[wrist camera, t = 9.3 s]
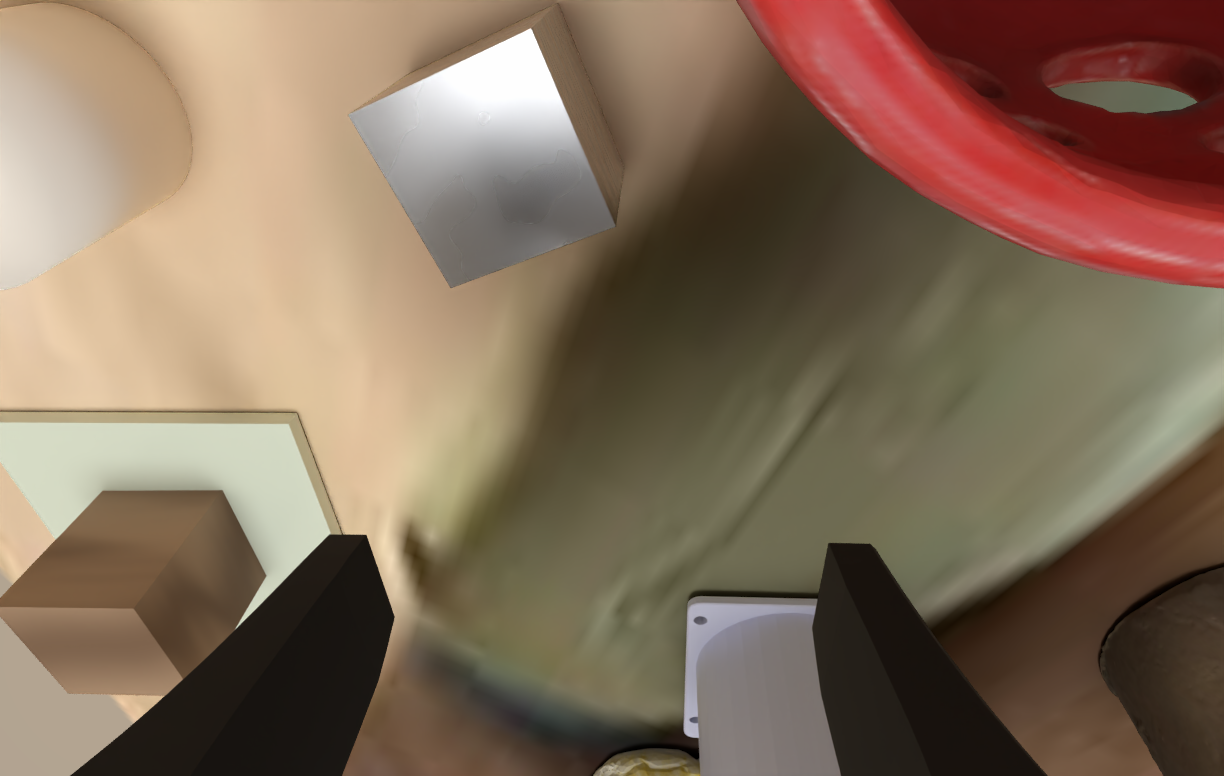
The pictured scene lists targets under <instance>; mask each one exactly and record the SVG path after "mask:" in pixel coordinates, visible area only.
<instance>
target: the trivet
mask: <svg viewBox="0 0 1224 776" xmlns="http://www.w3.org/2000/svg"><path fill="white" fill-rule="evenodd" d="M0 462H1V464H2V465H3V467H4V468H5V469H6V471H7V472H8V474H9V475H10V477H11V478H12V479H13V481H14V482H15V484H16V485H17V486H18V488H19V489H20V491H21V492H22V493H23V495H24V496H25V498H26V499H27V500H28V502H29V503H30V505H31V506H32V507H33V509H34V510H35V512H36V513H37V514H38V516H39V517H40V519H41V520H42V521H43V523H44V524H45V526H46V527H47V528H48V530H49V531H50V533H51V534H52V535H53V537H54V538H55V540H56V539H57V538H58V537H59V536H60V535H61V534H62V533H63V532H64V531H65V530H66V529H67V528H68V526H69V525H70V524H71V523H72V522H73V521H74V520H75V519H76V518H77V517H78V516H79V515H80V514H81V513H82V512H83V511H84V510H85V509H86V508H87V507H88V506H89V504H90V503H91V502H92V501H93V500H94V499H95V498H96V497H97V496H98V495H99V494H100V493H101V492H102V491H144V490H223V492H224V494H225V496H226V498H227V500H228V502H229V504H230V506H231V508H232V510H233V512H234V514H235V515H236V517H237V519H238V521H239V523H240V525H241V527H242V529H243V531H244V533H245V535H246V537H247V539H248V541H249V543H250V545H251V547H252V548H253V550H254V552H255V554H256V556H257V558H258V560H259V562H260V564H261V566H262V568H263V570H264V572H265V574H266V578H265V580H264V581H263V583H262V585H261V586H260V588H259V590H258V591H257V593H256V595H255V596H254V598H253V600H252V602H251V603H250V605H249V607H248V608H247V610H246V612H245V613H244V615H243V617H242V619H241V620H240V622H239V624H238V625H237V627H238V626H239V625H240V624H241V623H242V622H243V621H244V620H245V619H246V618H247V617H248V616H249V615H250V614H251V613H252V612H253V611H254V610H255V609H256V608H257V607H258V606H259V605H260V604H261V603H262V602H263V601H264V600H265V599H266V598H267V597H268V596H269V595H270V594H271V593H272V592H273V591H274V590H275V589H276V588H277V587H278V586H279V585H280V584H281V583H282V582H283V581H284V580H285V579H286V578H287V577H288V576H289V575H290V574H291V573H292V571H293V570H294V569H295V568H296V567H297V566H298V565H299V564H300V563H301V562H302V561H303V560H304V559H305V558H306V557H307V556H308V555H309V554H310V553H311V552H312V551H313V550H314V549H315V548H316V547H317V546H318V545H319V544H320V543H321V542H322V541H323V540H324V539H325V538H326V537H327V536H328V535H329V534H341V535H342V533H341V530H340V528H339V525H338V522H337V520H336V517H335V514H334V512H333V509H332V506H331V504H330V501H329V498H328V496H327V493H326V490H325V488H324V485H323V482H322V480H321V477H320V474H319V471H318V469H317V466H316V463H315V461H314V458H313V455H312V453H311V450H310V447H309V445H308V442H307V439H306V437H305V434H304V431H303V429H302V426H301V423H300V421H299V418H298V415H297V413H205V412H0ZM237 627H236V628H237Z"/></svg>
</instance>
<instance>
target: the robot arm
mask: <svg viewBox="0 0 1224 776" xmlns="http://www.w3.org/2000/svg"><path fill="white" fill-rule="evenodd" d="M394 618H395V617H394V614H393V611H392V608H391V605H390V602H389V599H388V596H387V593H386V590H385V588H384V585H383V582H382V579H381V576H380V573H379V570H378V567H377V564H376V562H375V559H374V556H373V553H372V550H371V547H370V544H369V541H368V538H367V535H341V534H329V535H328V536H327V537H326V538H325V539H324V540H323V541H322V542H321V543H320V544H319V545H318V546H317V547H316V548H315V549H314V550H313V551H312V552H311V553H310V554H309V555H308V556H307V557H306V558H305V559H304V560H303V561H302V562H301V563H300V564H299V565H298V566H297V567H296V568H295V569H294V570H293V571H292V573H291V574H290V575H289V576H288V577H287V578H286V579H285V580H284V581H283V582H282V583H281V584H280V585H279V586H278V587H277V588H276V589H275V590H274V591H273V592H272V593H271V594H270V595H269V596H268V597H267V598H266V599H265V600H264V601H263V602H262V603H261V604H260V605H259V606H258V607H257V608H256V609H255V610H254V611H253V612H252V613H251V614H250V615H249V616H248V617H247V618H246V619H245V620H244V621H243V622H242V623H241V624H240V625H239V626H238V627H237V628H236V629H235V630H234V631H233V632H232V633H231V634H230V635H229V636H228V637H227V638H226V639H225V640H224V641H223V642H222V643H221V644H220V645H219V646H218V647H217V648H216V649H215V650H214V651H213V652H212V653H211V654H210V655H209V656H208V657H207V658H205V659H204V660H203V661H202V662H201V663H200V664H199V665H198V666H197V667H196V668H195V669H194V670H193V671H191V672H190V673H189V674H188V675H187V676H186V677H185V678H184V679H183V680H182V681H181V682H179V683H178V684H177V685H176V686H175V687H174V688H173V689H172V690H171V691H170V692H169V693H168V694H166V695H165V696H164V697H163V698H162V699H161V700H160V701H159V702H158V703H157V704H156V705H154V706H153V707H152V708H151V709H150V710H149V711H148V712H147V713H145V714H144V715H143V716H142V717H141V718H140V719H138V720H137V721H136V722H135V723H134V724H133V725H132V726H130V727H129V728H128V729H127V730H126V731H125V732H123V733H122V734H121V735H120V736H119V737H118V738H116V739H115V740H114V741H113V742H111V743H110V744H109V745H108V746H106V747H105V748H104V749H103V750H101V751H100V752H99V753H98V754H97V755H95V756H94V757H93V758H92V759H90V760H89V761H88V762H87V763H86V764H84V765H83V766H82V767H80V768H79V769H78V770H77V771H76V772H74V773H73V774H72V775H71V776H342V774H343V771H344V769H345V766H346V764H347V761H348V758H349V756H350V753H351V751H352V748H353V746H354V743H355V741H356V738H357V735H358V733H359V730H360V728H361V725H362V723H363V720H364V717H365V715H366V712H367V709H368V707H369V704H370V702H371V699H372V696H373V694H374V691H375V688H376V686H377V683H378V680H379V677H380V673H381V669H382V666H383V662H384V658H385V654H386V651H387V647H388V642H389V638H390V634H391V630H392V626H393V622H394ZM684 733H685V734H686V735H687V736H689V737H694V738H699V756H700V776H1047V774H1046V773H1045V772H1044V771H1043V770H1042V769H1041V768H1040V767H1039V766H1038V764H1037V763H1036V762H1035V761H1034V760H1033V759H1032V757H1031V756H1030V755H1029V754H1028V753H1027V752H1026V751H1025V749H1024V748H1023V747H1022V746H1021V745H1020V744H1019V742H1018V741H1017V740H1016V739H1015V738H1014V736H1013V735H1012V734H1011V733H1010V732H1009V730H1008V729H1007V728H1006V727H1005V726H1004V724H1003V723H1002V722H1001V721H1000V720H999V718H998V717H997V716H996V715H995V714H994V712H993V711H992V710H991V709H990V708H989V706H988V705H987V704H986V702H985V701H984V700H983V699H982V697H981V696H980V695H979V694H978V692H977V691H976V690H975V689H974V687H973V686H972V685H971V684H970V682H969V681H968V680H967V678H966V677H965V676H964V674H963V673H962V672H961V670H960V669H959V668H958V666H957V665H956V664H955V663H954V661H953V660H952V659H951V657H950V656H949V655H948V653H947V652H946V651H945V649H944V648H943V647H942V645H941V644H940V643H939V641H938V640H937V639H936V637H935V636H934V634H933V633H932V632H931V630H930V629H929V628H928V626H927V625H926V623H925V622H924V620H923V619H922V618H921V616H920V615H919V613H918V612H917V610H916V609H915V608H914V606H913V605H912V603H911V602H910V600H909V599H908V598H907V596H906V595H905V593H904V592H903V590H902V589H901V587H900V586H899V584H898V583H897V581H896V580H895V578H894V577H893V575H892V574H891V572H890V571H889V569H888V568H887V566H886V564H885V563H884V561H883V560H882V558H881V557H880V555H879V554H878V552H877V550H876V549H875V548H874V547H873V546H872V545H871V544H853V543H828V549H827V554H826V559H825V564H824V569H823V574H822V579H821V584H820V589H819V595H818V599H802V598H759V597H717V596H697V597H694V598H692V599H690V600H689V601H688V604H687V634H686V665H685V696H684Z"/></svg>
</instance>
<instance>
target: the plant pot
mask: <svg viewBox="0 0 1224 776" xmlns="http://www.w3.org/2000/svg"><path fill="white" fill-rule="evenodd" d="M736 1H737V3H738V4H739V6H740V7H741V9H742V11H743V12H744V14H745V15H746V17H747V19H748V20H749V22H750V23H751V25H752V27H753V28H754V30H755V31H756V33H757V35H758V36H759V38H760V39H761V41H762V43H763V44H764V45H765V46H766V48H767V49H768V50H769V52H770V53H771V54H772V56H773V57H774V58H775V60H776V61H777V62H778V63H779V65H780V66H781V67H782V69H783V70H784V71H785V73H786V74H787V75H788V76H789V77H790V79H791V80H792V81H793V82H794V83H795V84H796V86H797V87H798V88H799V89H800V90H801V91H802V92H803V94H804V95H805V96H806V97H807V98H808V99H809V101H810V102H811V103H812V104H813V105H814V106H815V107H816V108H817V109H818V110H819V111H820V112H821V113H822V114H823V115H824V116H825V117H826V118H827V119H828V120H829V121H830V122H831V123H832V124H833V125H834V126H835V127H836V128H837V129H838V130H839V131H840V132H841V133H842V134H843V135H844V136H846V137H847V138H848V139H849V140H850V141H851V142H852V143H853V144H854V145H855V146H856V147H858V148H859V149H860V150H861V151H862V152H863V153H864V154H865V155H866V156H867V157H868V158H869V159H871V160H872V161H873V162H874V163H876V164H877V165H879V166H880V167H881V168H883V169H884V170H886V171H887V172H889V173H890V174H892V175H893V176H894V177H896V178H897V179H899V180H900V181H902V182H903V183H904V184H906V185H907V186H909V187H910V188H912V189H913V190H914V191H916V192H917V193H919V194H920V195H922V196H924V197H926V198H927V199H929V200H931V201H933V202H934V203H936V204H938V205H940V206H942V207H943V208H945V209H947V210H949V211H951V212H952V213H954V214H956V215H958V216H960V217H961V218H963V219H965V220H967V221H969V222H971V223H973V224H975V225H977V226H979V227H981V228H983V229H985V230H987V231H989V232H991V233H993V234H995V235H997V236H999V237H1001V238H1003V239H1006V240H1008V241H1010V242H1013V243H1015V244H1017V245H1020V246H1022V247H1024V248H1027V249H1029V250H1031V251H1034V252H1036V253H1038V254H1041V255H1045V256H1048V257H1052V258H1055V259H1059V260H1062V261H1066V262H1069V263H1073V264H1076V265H1080V266H1083V267H1087V268H1090V269H1094V270H1097V271H1101V272H1107V273H1113V274H1118V275H1124V276H1130V277H1135V278H1141V279H1147V280H1152V281H1158V282H1164V283H1169V284H1178V285H1190V286H1202V287H1214V288H1224V0H736ZM1098 81H1131V82H1138V83H1144V84H1151V85H1156V86H1161V87H1166V88H1171V89H1173V90H1176V91H1179V92H1182V93H1185V94H1187V95H1189V96H1190V97H1192V98H1193V99H1195V100H1196V101H1197V102H1198V103H1196V104H1193V105H1191V106H1188V107H1186V108H1184V109H1181V110H1172V111H1160V112H1153V113H1147V114H1144V113H1138V112H1123V113H1114V112H1109V111H1107V110H1105V109H1103V108H1100V107H1096V106H1093V105H1089V104H1085V103H1081V102H1077V101H1074V100H1070V99H1066V98H1062V97H1060V96H1058V95H1056V94H1055V93H1054V92H1053V91H1051V90H1050V89H1049V88H1055V87H1059V86H1062V85H1065V84H1070V83H1085V82H1098Z"/></svg>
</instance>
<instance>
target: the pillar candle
mask: <svg viewBox="0 0 1224 776" xmlns="http://www.w3.org/2000/svg"><path fill="white" fill-rule="evenodd" d="M1102 651H1103V653H1101V658H1100V667H1101V674H1102V676H1103V678H1104V681H1105V682H1106V684H1107V686H1108V687H1109V689H1110V691H1111V692H1112V693H1113V694H1114V695H1115V696H1117V697H1118V698H1119V700H1120V702H1121V703H1122V705H1123V706H1124V708H1125V710H1126V711H1127V713H1128V715H1129V717H1130V718H1131V720H1132V722H1133V723H1134V725H1135V727H1136V729H1137V731H1138V733H1139V734H1140V736H1141V738H1142V739H1143V741H1144V743H1145V744H1146V745H1147V747H1148V749H1149V752H1150V754H1151V756H1152V758H1153V759H1154V761H1155V762H1156V764H1157V765H1158V767H1159V769H1160V771H1161V772H1162V774H1163V776H1224V567H1222V568H1219V569H1216V570H1212V571H1209V572H1206V573H1205V574H1200V575H1198V576H1195V577H1193V578H1191V579H1189V580H1187V581H1184V582H1182V583H1181V584H1179V585H1177V586H1175V587H1173V588H1171V589H1170V590H1168V591H1166V592H1165V593H1163V594H1161V595H1160V596H1158V597H1156V598H1155V599H1153V600H1151V601H1150V602H1148V603H1147V604H1145V605H1143V606H1142V607H1140V608H1139V609H1137V610H1135V611H1134V612H1132V613H1130V614H1129V615H1128V616H1126V617H1125V618H1124V619H1123V620H1122V621H1121V622H1120V623H1119V624H1117V626H1116V627H1115V630H1114V631H1113V632H1111V633H1110V634H1109V636H1108V638H1107V640H1106V642H1105V645H1104V647H1103V648H1102Z"/></svg>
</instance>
